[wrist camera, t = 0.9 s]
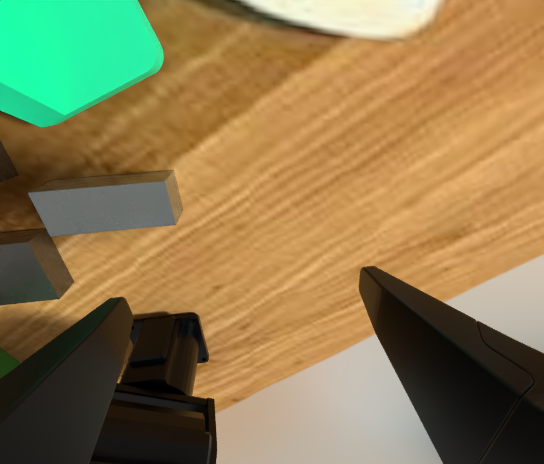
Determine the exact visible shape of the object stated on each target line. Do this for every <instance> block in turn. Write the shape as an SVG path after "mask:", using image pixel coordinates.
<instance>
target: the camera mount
mask: <svg viewBox="0 0 544 464" xmlns="http://www.w3.org/2000/svg"><path fill="white" fill-rule="evenodd" d="M163 58H164V55H163V49H162V46H161V44H160V42H159V40H158V38H157V36H156V34H155V33H154V31H153V29H152V27H151V25H150V23H149V21H148V19H147V17H146V15H145V14H144V12H143V10H142V8H141V6H140V4H139V2H138V0H0V111H3V112H5V113H8V114H10V115H13V116H15V117H17V118H20V119H22V120H25V121H27V122H29V123H32V124H34V125H37V126H39V127H46V126H51V125H56V124H59V123H61V122H63V121H65V120H67V119H69V118H71V117H73V116H75V115H77V114H79V113H80V112H82V111H84V110H86V109H88V108H90V107H92V106H94V105H96V104H98V103H100V102H101V101H103V100H105V99H107V98H109V97H111V96H113V95H115V94H117V93H119V92H121V91H122V90H124V89H126V88H128V87H130V86H132V85H134V84H136V83H138V82H140V81H142V80H143V79H145V78H147V77H149V76H151V75H153V74H155V73H156V72H158V71H159V70H160V68H161V66H162V64H163Z"/></svg>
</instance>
